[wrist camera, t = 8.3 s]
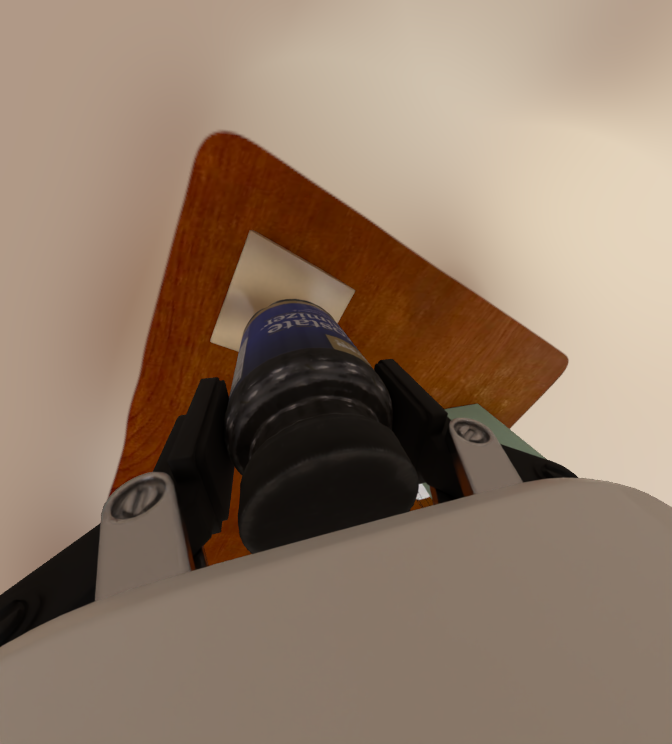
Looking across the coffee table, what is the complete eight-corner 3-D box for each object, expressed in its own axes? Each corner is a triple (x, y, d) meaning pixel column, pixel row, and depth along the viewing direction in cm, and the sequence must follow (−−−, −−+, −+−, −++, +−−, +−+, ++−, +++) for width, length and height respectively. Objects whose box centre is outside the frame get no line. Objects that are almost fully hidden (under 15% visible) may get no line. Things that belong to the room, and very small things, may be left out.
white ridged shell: (444, 475, 53) (463, 499, 48) (427, 493, 55) (443, 518, 50) (406, 466, 48) (422, 492, 43) (389, 486, 49) (402, 513, 45)
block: (253, 229, 22) (250, 229, 17) (335, 277, 26) (355, 290, 21) (221, 316, 25) (209, 341, 20) (299, 347, 29) (308, 376, 24)
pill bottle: (349, 306, 15) (488, 424, 6) (328, 389, 18) (400, 560, 8) (243, 286, 13) (199, 420, 4) (237, 383, 16) (202, 602, 6)
